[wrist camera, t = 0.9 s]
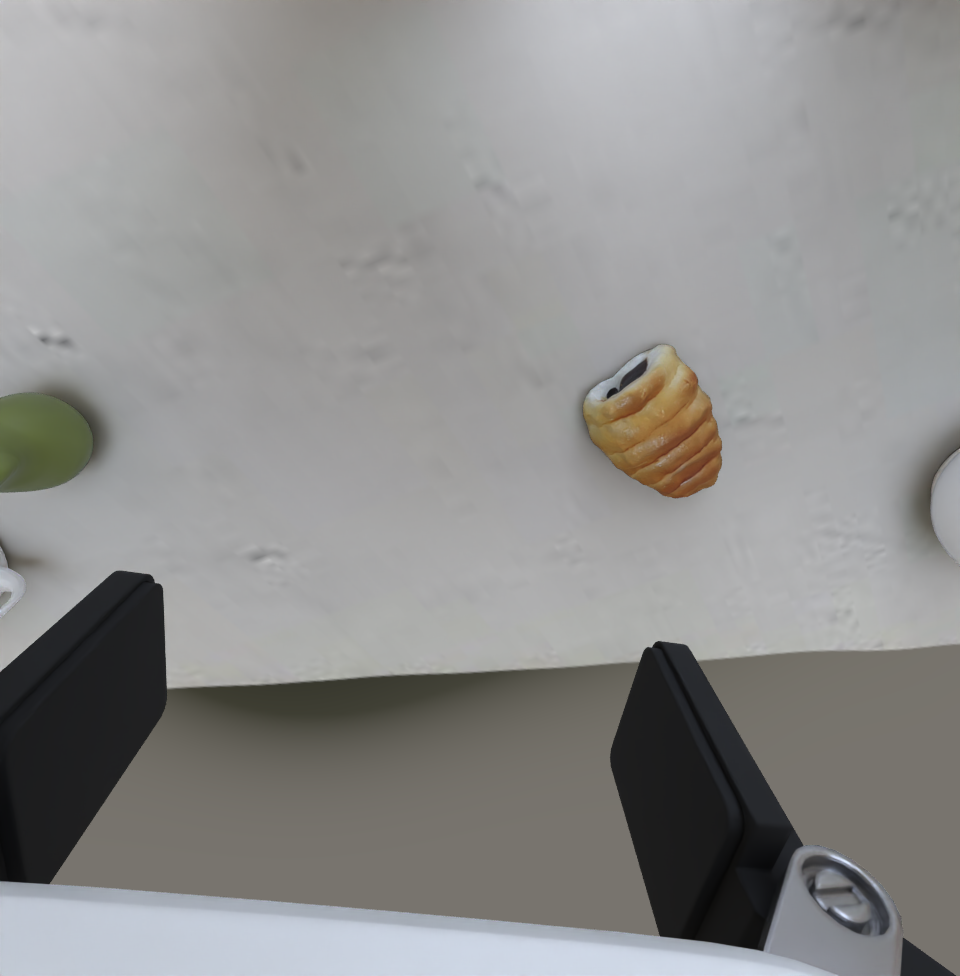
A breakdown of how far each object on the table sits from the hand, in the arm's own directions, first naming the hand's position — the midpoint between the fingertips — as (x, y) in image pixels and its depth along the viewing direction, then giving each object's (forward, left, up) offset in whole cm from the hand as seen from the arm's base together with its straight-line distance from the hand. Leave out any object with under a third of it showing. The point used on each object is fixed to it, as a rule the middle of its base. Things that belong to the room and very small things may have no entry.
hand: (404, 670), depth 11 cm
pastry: (0, +13, -25) cm, 28 cm away
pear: (+6, -22, -25) cm, 34 cm away
